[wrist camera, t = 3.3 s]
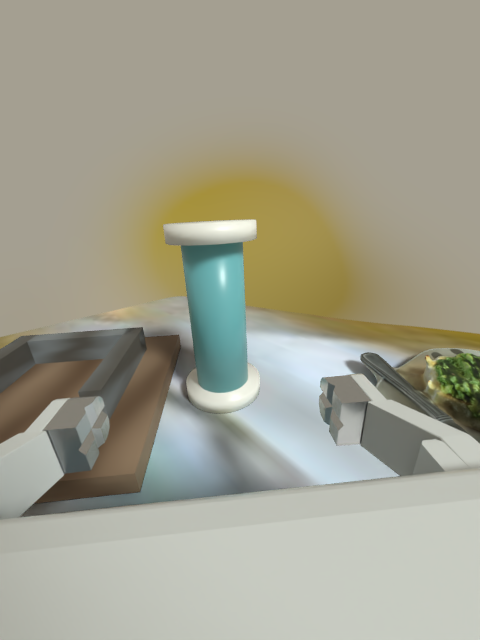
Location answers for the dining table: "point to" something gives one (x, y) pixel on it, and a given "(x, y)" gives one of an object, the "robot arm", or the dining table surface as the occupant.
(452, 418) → the salad plate
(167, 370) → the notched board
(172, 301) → the dining table surface
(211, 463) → the dining table surface
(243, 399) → the bobbin
